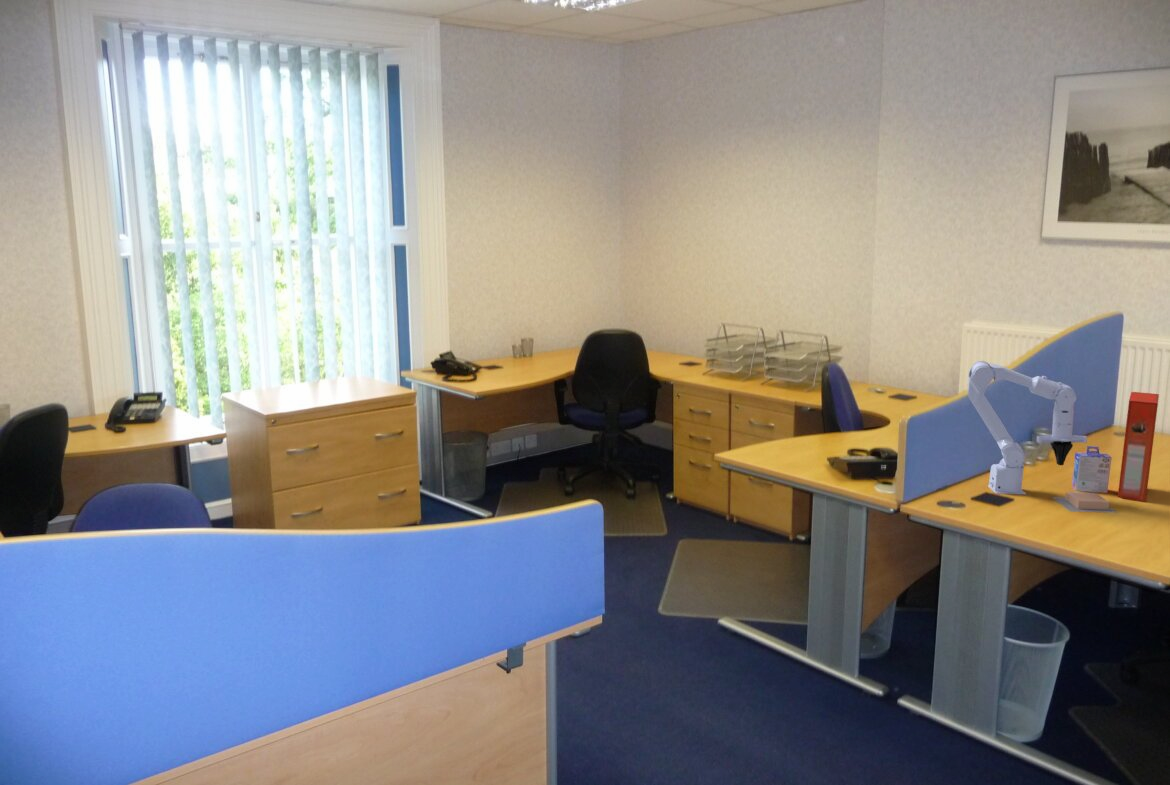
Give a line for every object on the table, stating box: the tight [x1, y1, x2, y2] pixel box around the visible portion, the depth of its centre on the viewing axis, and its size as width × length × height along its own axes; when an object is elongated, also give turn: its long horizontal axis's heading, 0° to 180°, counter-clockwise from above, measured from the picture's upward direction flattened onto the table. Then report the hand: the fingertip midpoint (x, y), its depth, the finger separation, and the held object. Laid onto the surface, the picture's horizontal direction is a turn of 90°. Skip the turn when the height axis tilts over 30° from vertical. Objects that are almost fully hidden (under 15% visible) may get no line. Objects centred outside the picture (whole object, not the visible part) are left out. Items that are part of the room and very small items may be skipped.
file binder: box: [1117, 391, 1160, 503], centre depth 299 cm, size 8×17×32 cm, turn 148°
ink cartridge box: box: [1071, 445, 1112, 494], centre depth 304 cm, size 10×6×14 cm, turn 78°
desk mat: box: [1051, 496, 1118, 514], centre depth 290 cm, size 14×14×1 cm
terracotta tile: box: [1065, 491, 1110, 510], centre depth 289 cm, size 3×9×9 cm
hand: (1060, 464), depth 297 cm, fingers closed
